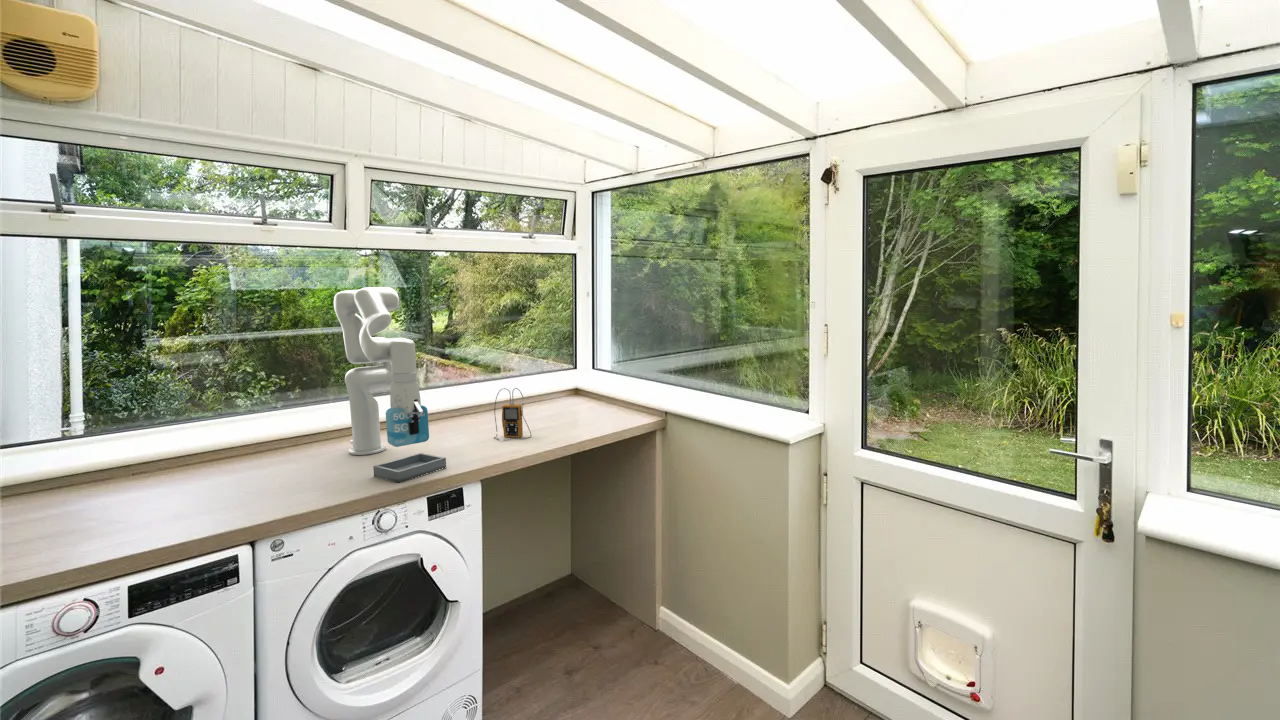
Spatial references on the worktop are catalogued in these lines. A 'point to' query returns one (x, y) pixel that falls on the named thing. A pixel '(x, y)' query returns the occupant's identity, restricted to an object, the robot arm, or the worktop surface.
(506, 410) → the multimeter
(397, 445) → the data package
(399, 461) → the parts tray
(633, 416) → the worktop surface
